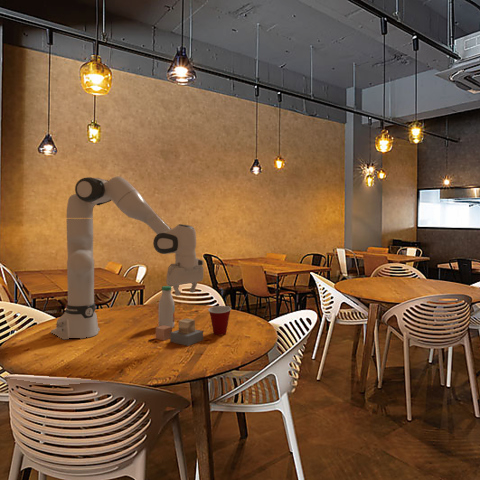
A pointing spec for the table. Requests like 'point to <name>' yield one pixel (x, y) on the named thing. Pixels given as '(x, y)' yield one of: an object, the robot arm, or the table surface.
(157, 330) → the terracotta cube
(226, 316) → the plastic cup
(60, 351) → the table surface
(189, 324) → the maple cube
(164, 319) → the milk bottle
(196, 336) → the slate base
